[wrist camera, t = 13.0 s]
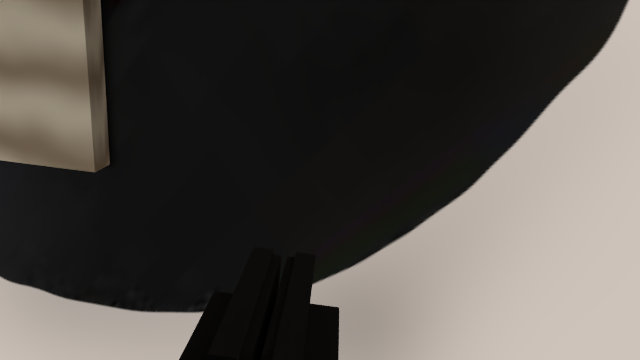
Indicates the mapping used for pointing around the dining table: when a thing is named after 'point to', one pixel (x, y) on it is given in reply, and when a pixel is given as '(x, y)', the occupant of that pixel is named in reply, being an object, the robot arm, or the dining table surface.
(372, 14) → the dining table surface
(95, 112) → the board
